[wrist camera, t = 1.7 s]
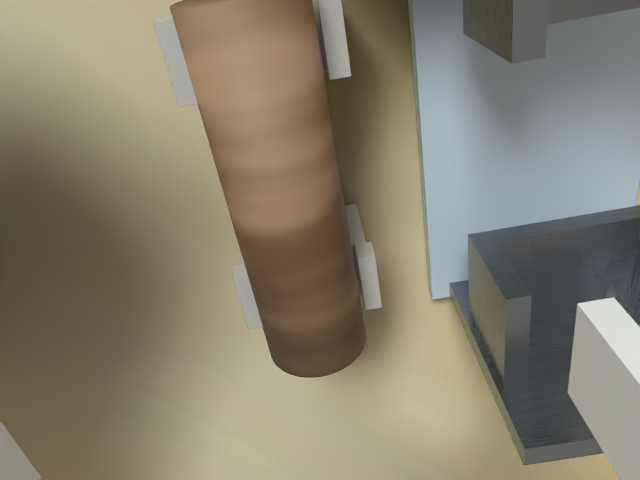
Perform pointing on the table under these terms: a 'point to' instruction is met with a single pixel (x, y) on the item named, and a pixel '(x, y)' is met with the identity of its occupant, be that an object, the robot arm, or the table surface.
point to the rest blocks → (337, 67)
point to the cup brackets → (541, 267)
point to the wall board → (520, 129)
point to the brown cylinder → (278, 172)
